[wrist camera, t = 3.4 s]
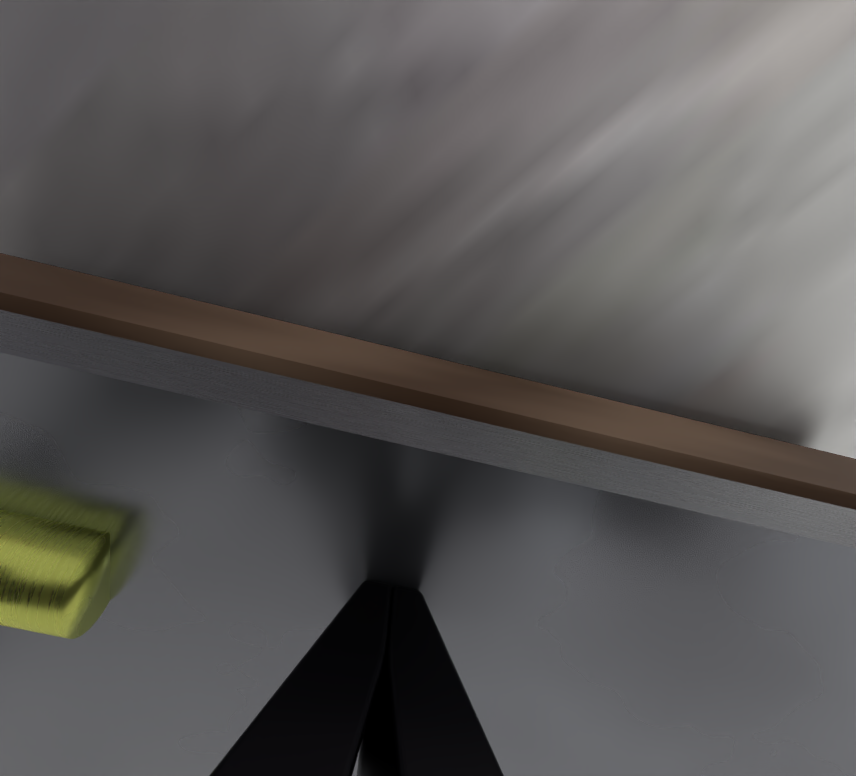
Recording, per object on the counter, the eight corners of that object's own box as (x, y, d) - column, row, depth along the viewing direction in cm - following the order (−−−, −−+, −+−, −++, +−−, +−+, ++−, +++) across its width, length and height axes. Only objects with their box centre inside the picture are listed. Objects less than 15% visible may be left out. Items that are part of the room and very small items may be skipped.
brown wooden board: (29, 759, 16) (-59, 881, 13) (6, 239, 10) (-155, 255, 8) (582, 860, 17) (610, 992, 14) (824, 438, 12) (948, 516, 9)
